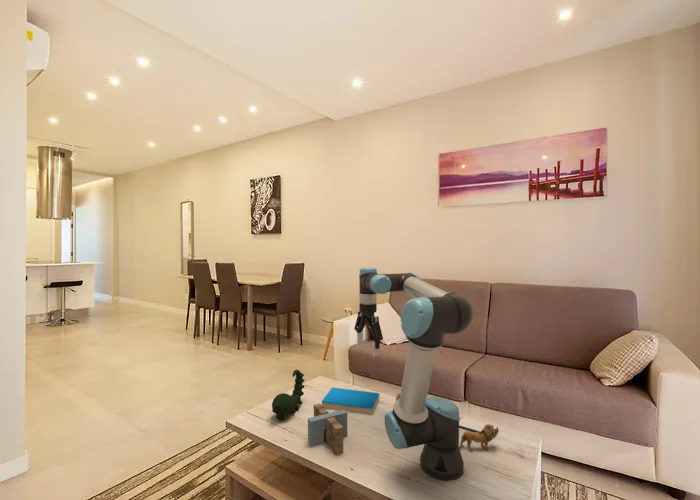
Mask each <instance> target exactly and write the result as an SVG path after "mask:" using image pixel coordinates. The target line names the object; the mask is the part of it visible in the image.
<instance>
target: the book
mask: <svg viewBox="0 0 700 500" xmlns="http://www.w3.org/2000/svg"><path fill="white" fill-rule="evenodd" d="M379 402H380V393H379V392H374V391H373V392H371V391H366V390H365V391H364V390H356V389H355V390H354V389H350V388H349V389H347V388H340V387H331V389H329V391H328V393H327V394H326V395H325V396H324V398H323V399H322V400H321V405H322V406H323V407H324V408H325V409H326V410H327V409H328V410H332V409H333V411H339V410H343V409H344V410H345V411H346V412H347V411H348V412H347V413H354V412H355V414H363V415H368V416H369V415H370V416H373V415H374V413H375V410H376V408H377V405H378V404H379Z"/></svg>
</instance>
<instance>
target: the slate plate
mask: <svg viewBox="0 0 700 500" xmlns="http://www.w3.org/2000/svg"><path fill="white" fill-rule="evenodd" d="M332 417H334V418H335V419H336V420H337V421H338V422H339V423H340V424H341V425H342V426H343V439H344V438H348V412H347V411H345V410H344V409H343V410H334V411H332V412H329V413H327V414H323V415H319V416H315V417H314V416H312V417H308V418H307V444H308V446H309V447H310V448H313V447H316V446H319V445H320V446H321V445H323V444H325V441H324V430H325V429H327V419H328V418H332Z"/></svg>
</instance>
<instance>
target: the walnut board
mask: <svg viewBox="0 0 700 500" xmlns="http://www.w3.org/2000/svg"><path fill="white" fill-rule="evenodd" d="M327 413H330V412H329V411H328V410H327V409H325V408H324V407H323V406H322V403H315V404H313V417H315V416H319V415H323V414H327ZM324 444H326V445H327V446H328V447H329V449H330V450H331V451H332V452H333V454H334V455H335V456H339V455H342V454H344V438H343V426H342V425H341V424H340V423H339V422H338V421H337V420H336V419H335V418H334V417H332V418H328V419H327V429H325V430H324Z"/></svg>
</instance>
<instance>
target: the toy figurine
mask: <svg viewBox="0 0 700 500" xmlns="http://www.w3.org/2000/svg"><path fill="white" fill-rule="evenodd" d="M304 376H305V374H304V373H303V372H301V371H300V370H299V369H294V370H293V372H292V378H294V377H295V378H294V379H295V380H294V384H293V390H292V394H291V395H290V394H288V393H285V392H283V393H279V394H277V395H276V396H275V397H274V398H273V400H272V403H271V409H272V410H271V411H272V412H273V413H274V414H275V416H276V417H275V418H276V420H277V421H280V422H282V421H284V420H286V418H287V415H289V414H291V415H294V414H295V413H296V411H300V406H301V405H303V401H302V396H304V391H303V389H305V385H304V384H303V383H304V382H305V381H306V380H305V379H304V378H303V377H304ZM299 405H300V406H299Z"/></svg>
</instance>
